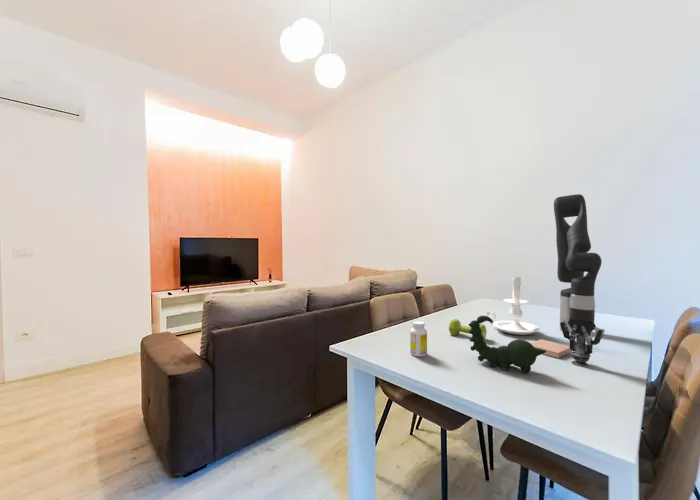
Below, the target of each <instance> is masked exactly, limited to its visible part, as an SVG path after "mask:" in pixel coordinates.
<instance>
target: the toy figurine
mask: <svg viewBox="0 0 700 500" xmlns="http://www.w3.org/2000/svg"><path fill="white" fill-rule="evenodd" d="M492 319H493V318H491V317H489V315H488V316H487V315H480V316H477V318H476V319H474V320H471V321H470V322H469V323H468V327H471V330H469V333H470V335H471V337H470V338H469V342H471V343H473V345H471V346H470V350H471V351H476V352H478V355H479V356H478V357H477V360H478V361H479V362H482V361H484V360H486V361H487V362H488V366H489V367H490V368H494V367H495V366H497V365H500V367H501V368H502V369H503V370H508V369H509V368H510V366H511V365H513V366H514V367H517V368H520V371H521V372H522V373H524V374H529V373H530V372H531V370H532V366H533V365H534V364H535V363H536V360H537V357H538V356H541V355H544V354H543V353H546V350H542V349H538V348H535V347H533V345H532V344H530V343H531V342H530V341H527V340H525V339H519V338H518V339H514V340H511V341H510V342H509V343H508V344H507V345H499V346H498V347H495V346H489V345H487V343H486V341H484V340H485V339H484V338H483V336H482V335H481V333H482V331H481V328H480V324H483V323H485V322H488V323H490V322H491V323H494V321H492Z"/></svg>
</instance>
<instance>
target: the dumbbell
mask: <svg viewBox="0 0 700 500" xmlns="http://www.w3.org/2000/svg"><path fill="white" fill-rule="evenodd" d="M479 324H480V328H481V331H482V333H481V335H482V336H483V338H484V340H485V339H486V337H487V327H486V325H485V324H483V323H479ZM469 330H471V327H470V326H469V325H468V326H466V325H462V324H461V321H460V320H459V319H456V318H453V319H451V320H450V322H449V324H448V331H449V335H452V336H457V335H459V334H460V333H465V334H468V335H469V334H470V333H469ZM470 335H471V334H470Z"/></svg>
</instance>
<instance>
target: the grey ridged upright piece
mask: <svg viewBox="0 0 700 500" xmlns="http://www.w3.org/2000/svg"><path fill="white" fill-rule="evenodd" d="M575 341H576V343H575V344H576V350H575V351H572V352H570V354H571V357H572V359H573V361H571V364H573V366H574V365H575V366H577V367H584V368H585V367H586V368H588V367H590V364H589V363H587V362H589V361H590V358H591V354H590V355H586V345H587V342H586V339H585V338H584V335H582V334H578V335H577V336H576V339H575Z"/></svg>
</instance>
